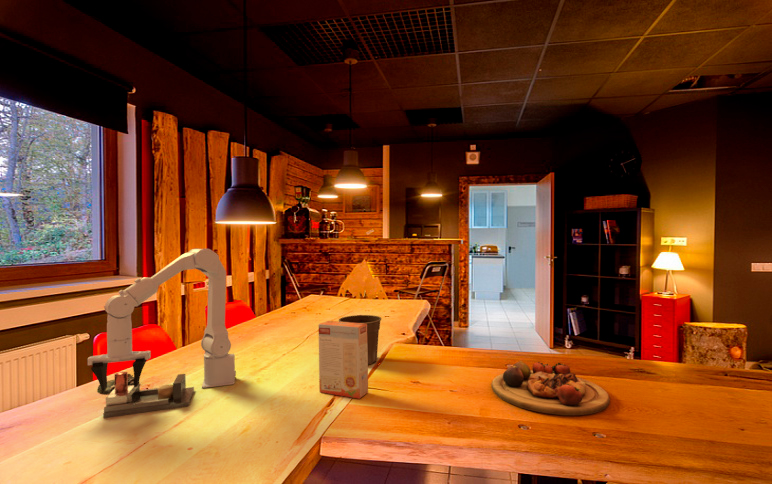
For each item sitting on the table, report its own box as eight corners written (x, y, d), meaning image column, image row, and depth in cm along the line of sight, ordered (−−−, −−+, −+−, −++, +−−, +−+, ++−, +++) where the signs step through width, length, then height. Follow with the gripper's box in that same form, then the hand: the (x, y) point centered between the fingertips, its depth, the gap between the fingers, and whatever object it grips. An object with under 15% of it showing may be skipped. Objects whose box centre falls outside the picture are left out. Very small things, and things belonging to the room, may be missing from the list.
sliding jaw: (139, 394, 114) (139, 367, 114) (131, 405, 106) (131, 376, 106) (115, 397, 112) (115, 370, 112) (105, 409, 104) (105, 379, 104)
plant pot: (333, 358, 152) (333, 316, 152) (371, 352, 159) (371, 313, 159) (347, 370, 137) (347, 324, 137) (389, 363, 144) (388, 320, 144)
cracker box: (369, 392, 117) (368, 322, 117) (359, 400, 111) (358, 327, 111) (329, 385, 123) (328, 319, 123) (318, 392, 117) (317, 323, 117)
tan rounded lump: (175, 393, 115) (175, 383, 115) (172, 399, 111) (172, 388, 111) (159, 395, 113) (159, 385, 113) (156, 401, 110) (156, 390, 110)
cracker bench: (193, 390, 120) (193, 370, 120) (188, 406, 109) (187, 384, 109) (118, 400, 113) (117, 379, 113) (103, 418, 102) (103, 394, 102)
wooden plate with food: (629, 423, 96) (629, 390, 96) (494, 412, 102) (494, 380, 103) (589, 380, 127) (589, 355, 127) (488, 373, 134) (488, 349, 134)
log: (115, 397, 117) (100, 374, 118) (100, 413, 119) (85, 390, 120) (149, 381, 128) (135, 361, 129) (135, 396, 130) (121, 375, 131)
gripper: (82, 344, 102) (83, 396, 102) (145, 339, 107) (146, 388, 107) (92, 338, 109) (93, 387, 109) (152, 333, 114) (152, 380, 114)
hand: (120, 387), depth 109 cm, fingers open, 7 cm apart
